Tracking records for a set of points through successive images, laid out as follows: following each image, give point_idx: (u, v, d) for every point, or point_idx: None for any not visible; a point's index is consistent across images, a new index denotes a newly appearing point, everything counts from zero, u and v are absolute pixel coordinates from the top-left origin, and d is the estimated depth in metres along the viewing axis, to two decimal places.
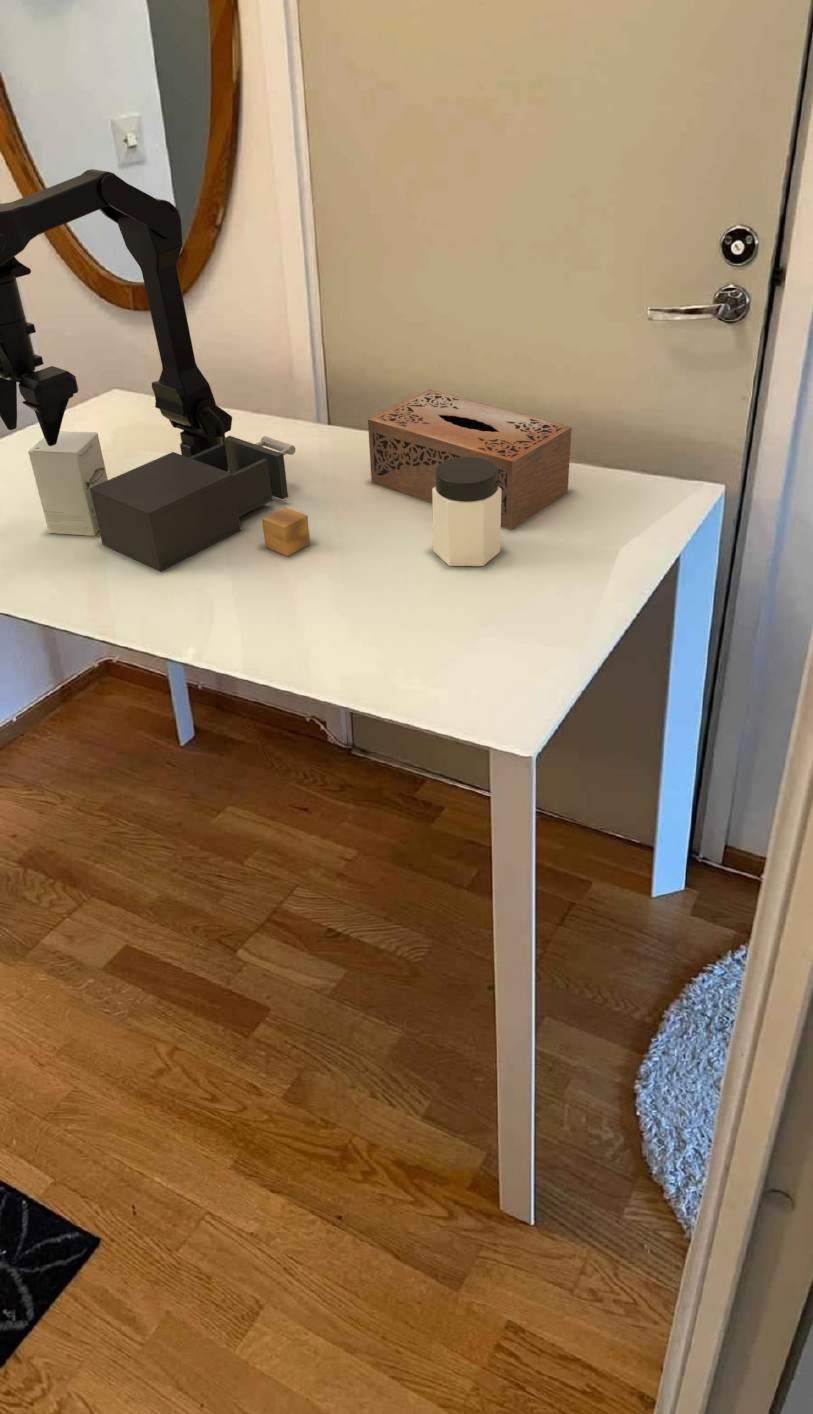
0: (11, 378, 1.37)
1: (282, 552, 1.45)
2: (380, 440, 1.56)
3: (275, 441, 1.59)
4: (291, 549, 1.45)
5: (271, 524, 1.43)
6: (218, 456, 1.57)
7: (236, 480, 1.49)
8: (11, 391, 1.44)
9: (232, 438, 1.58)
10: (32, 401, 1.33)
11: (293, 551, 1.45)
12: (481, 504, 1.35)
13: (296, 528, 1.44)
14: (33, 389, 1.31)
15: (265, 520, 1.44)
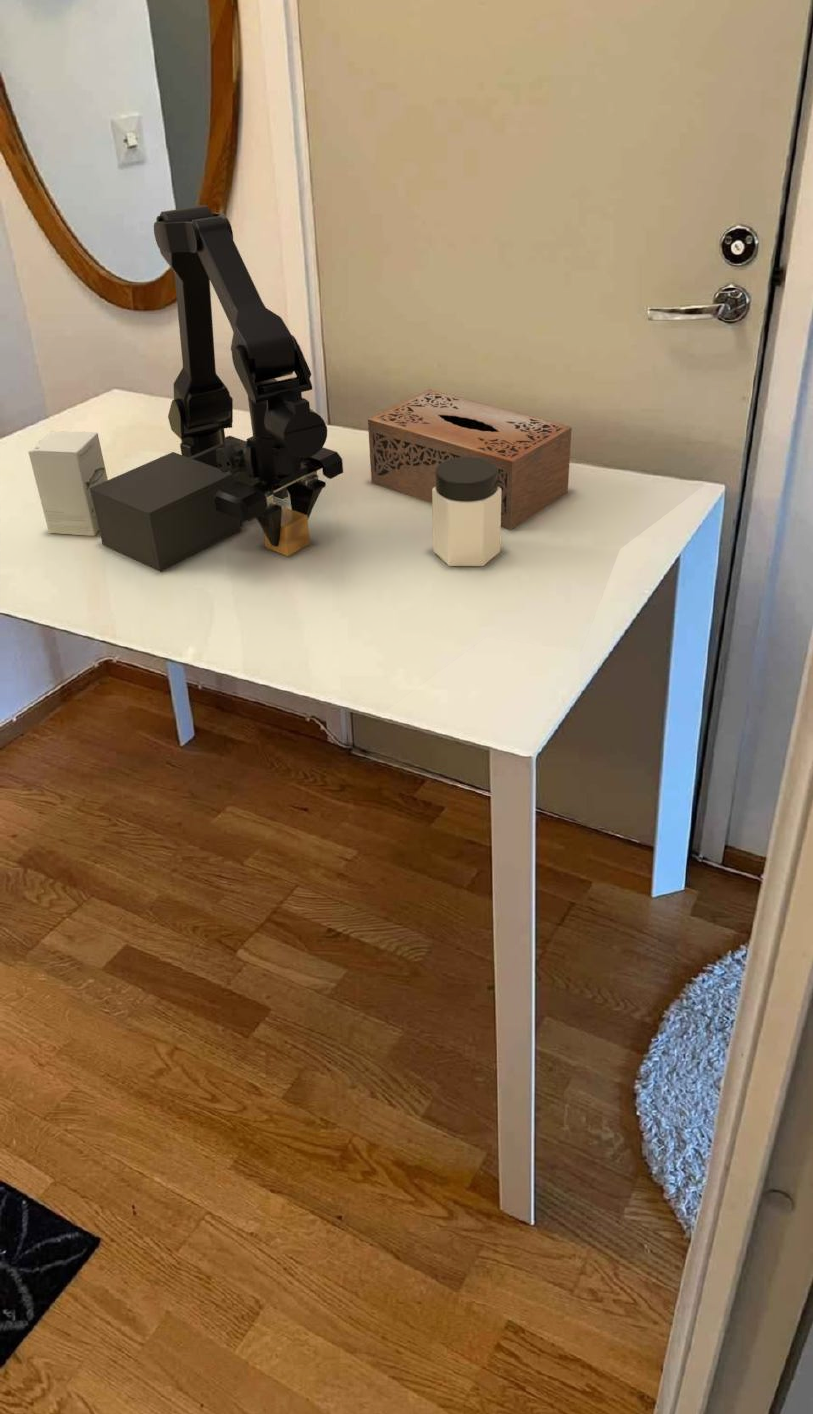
0: None
1: (282, 552, 1.45)
2: (380, 440, 1.56)
3: None
4: (291, 549, 1.45)
5: None
6: None
7: (236, 480, 1.49)
8: (304, 502, 1.44)
9: (232, 438, 1.58)
10: None
11: (293, 551, 1.45)
12: (481, 505, 1.35)
13: (296, 528, 1.44)
14: None
15: None
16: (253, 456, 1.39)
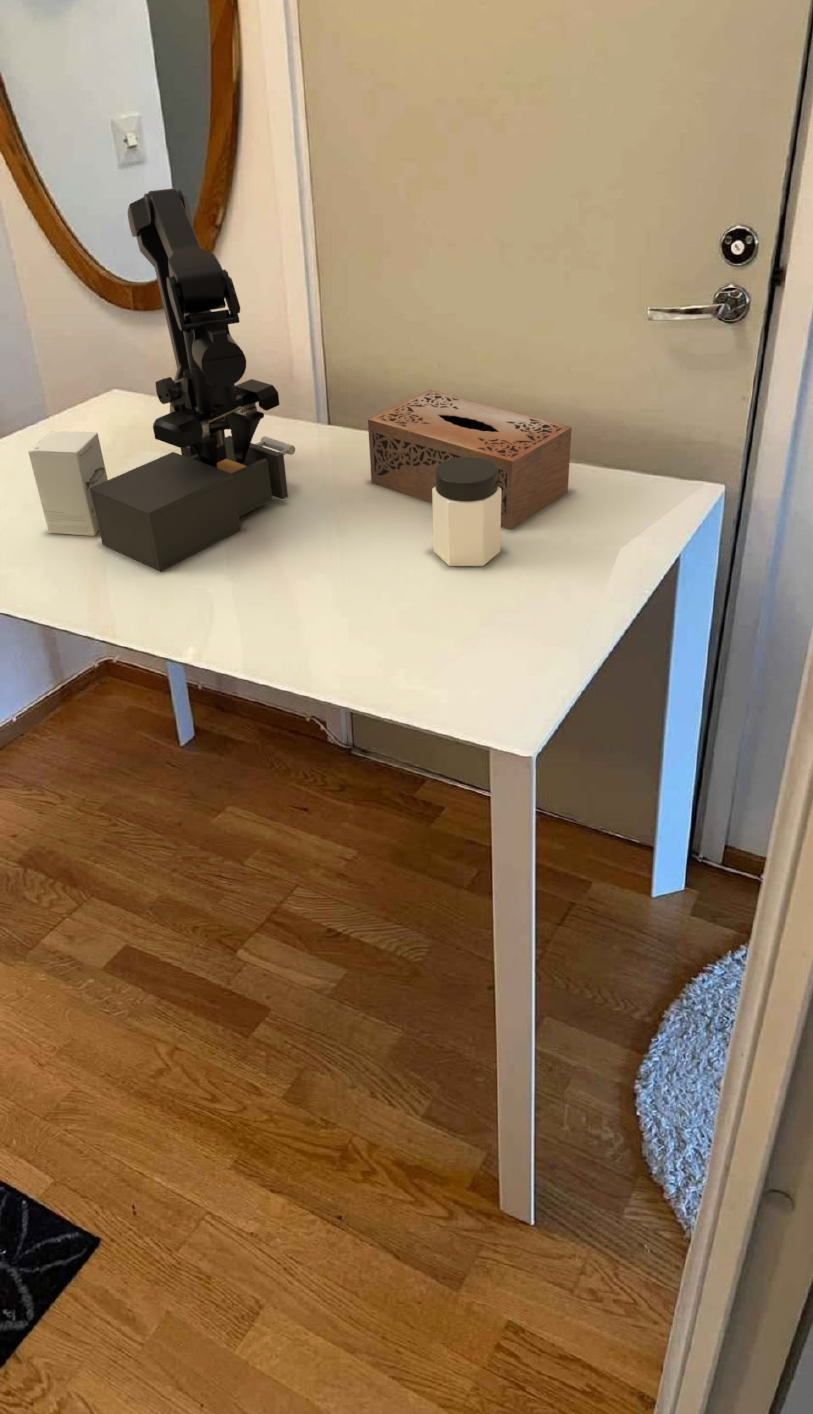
0: None
1: None
2: (380, 440, 1.56)
3: (275, 441, 1.59)
4: None
5: None
6: (218, 456, 1.57)
7: (236, 480, 1.49)
8: (243, 433, 1.51)
9: None
10: None
11: None
12: (481, 504, 1.35)
13: None
14: None
15: None
16: (190, 387, 1.46)
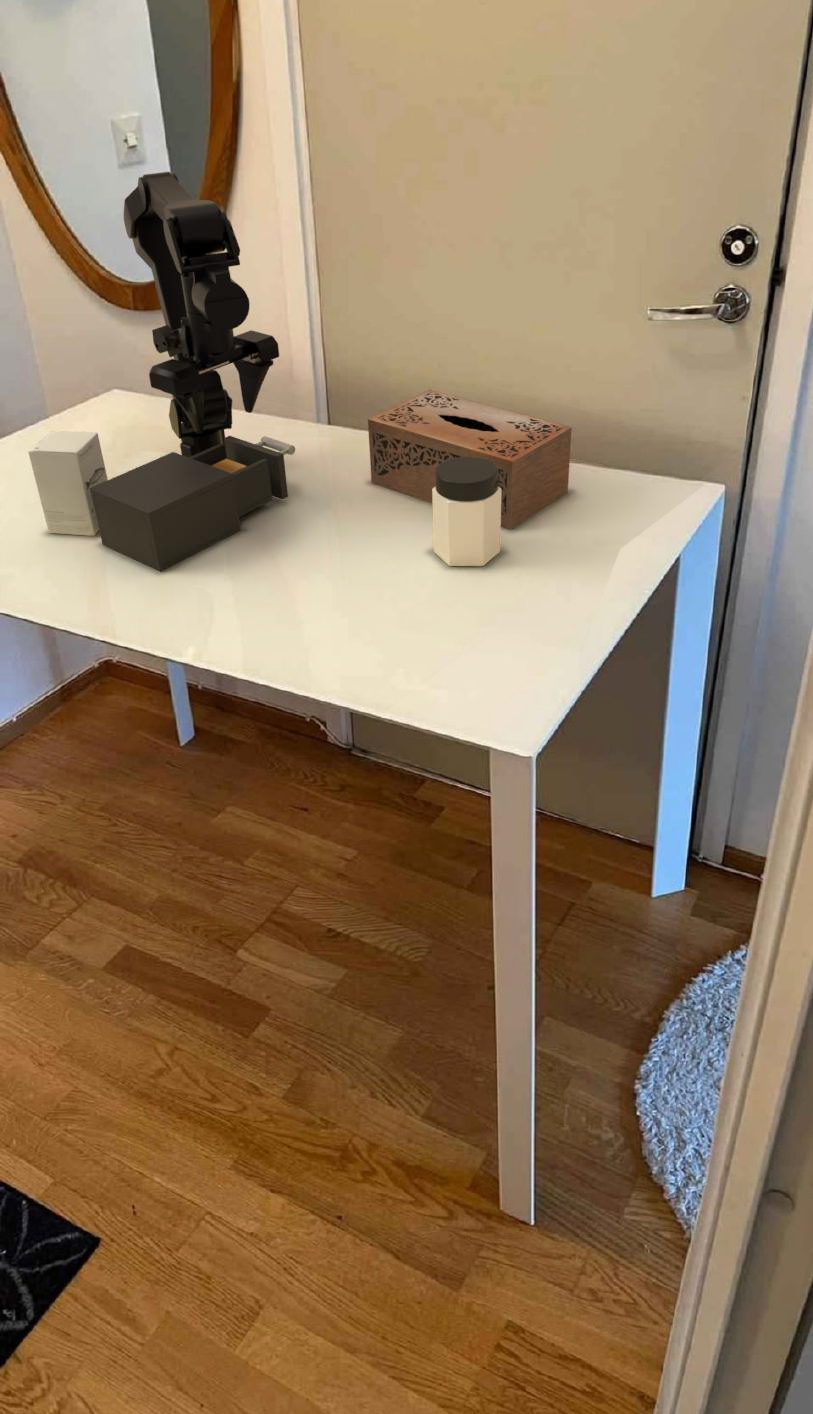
0: None
1: None
2: (380, 440, 1.56)
3: (275, 441, 1.59)
4: None
5: None
6: (218, 456, 1.57)
7: (236, 480, 1.49)
8: (252, 380, 1.49)
9: (232, 438, 1.58)
10: None
11: None
12: (481, 504, 1.35)
13: None
14: None
15: None
16: (188, 335, 1.42)
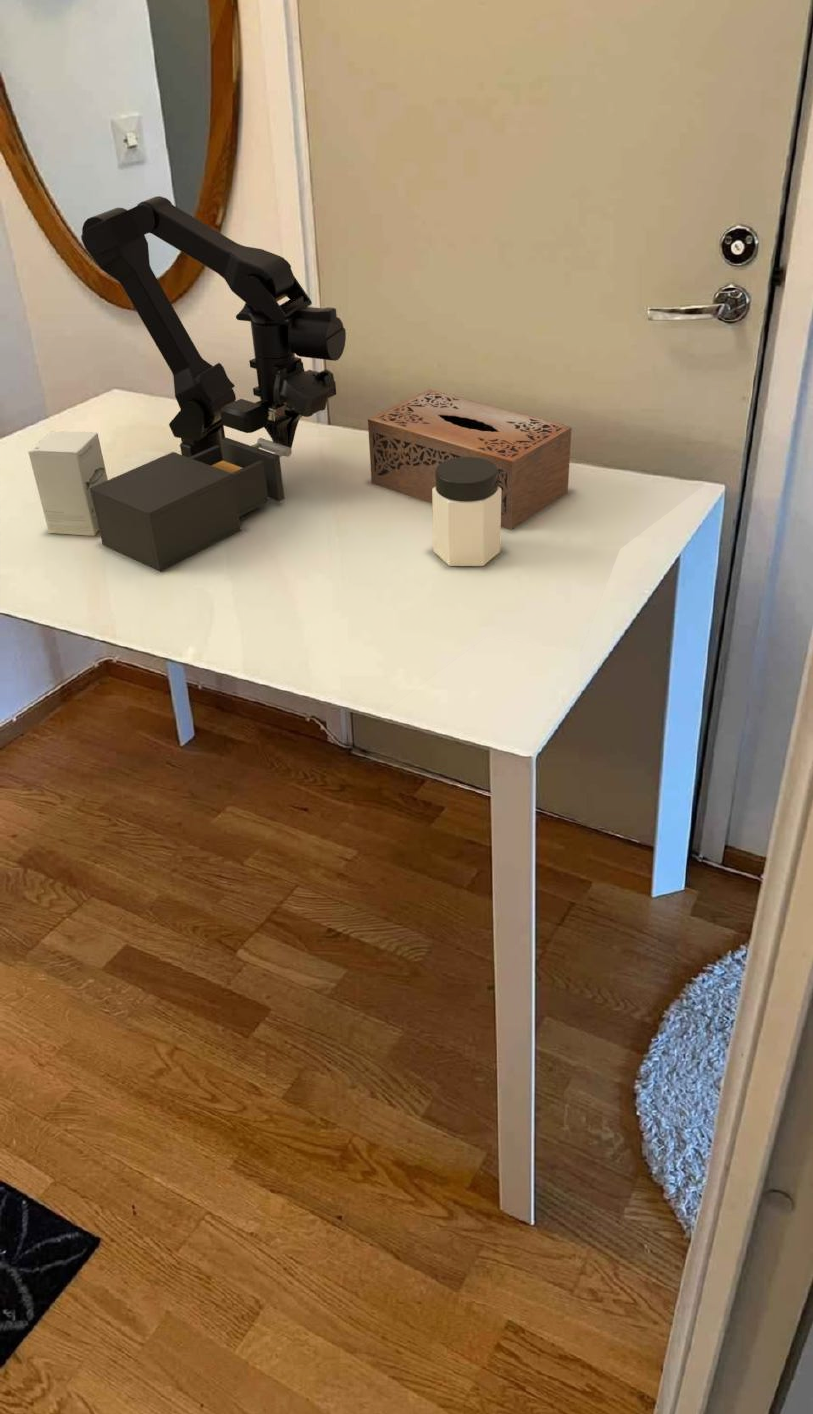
0: None
1: None
2: (380, 440, 1.56)
3: (271, 443, 1.59)
4: None
5: None
6: (214, 458, 1.56)
7: None
8: None
9: (228, 440, 1.58)
10: None
11: None
12: (481, 504, 1.35)
13: None
14: None
15: None
16: None
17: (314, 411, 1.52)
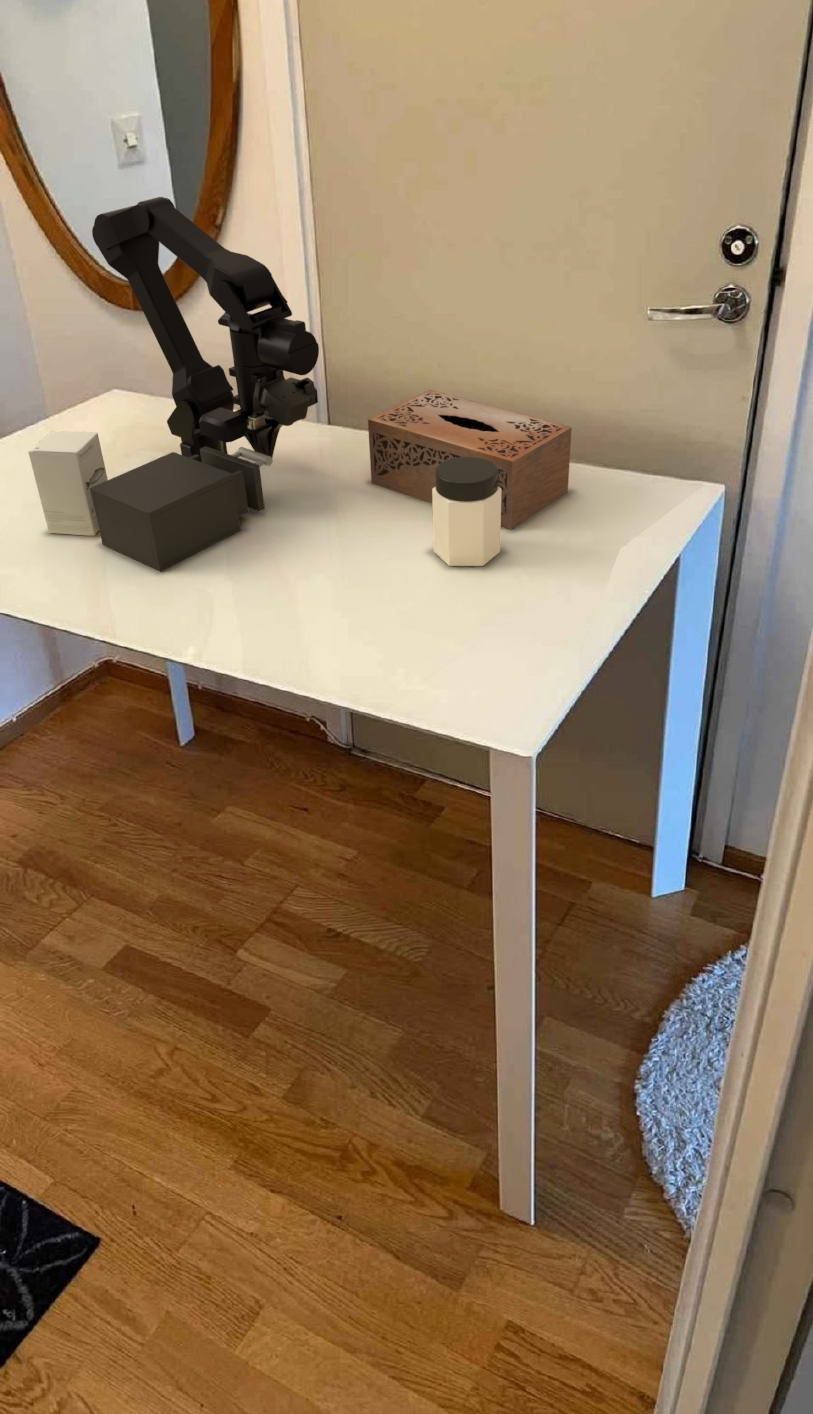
0: None
1: None
2: (380, 440, 1.56)
3: (252, 452, 1.56)
4: None
5: None
6: None
7: None
8: None
9: (208, 449, 1.55)
10: None
11: None
12: (481, 504, 1.35)
13: None
14: (314, 390, 1.57)
15: None
16: None
17: (294, 420, 1.49)
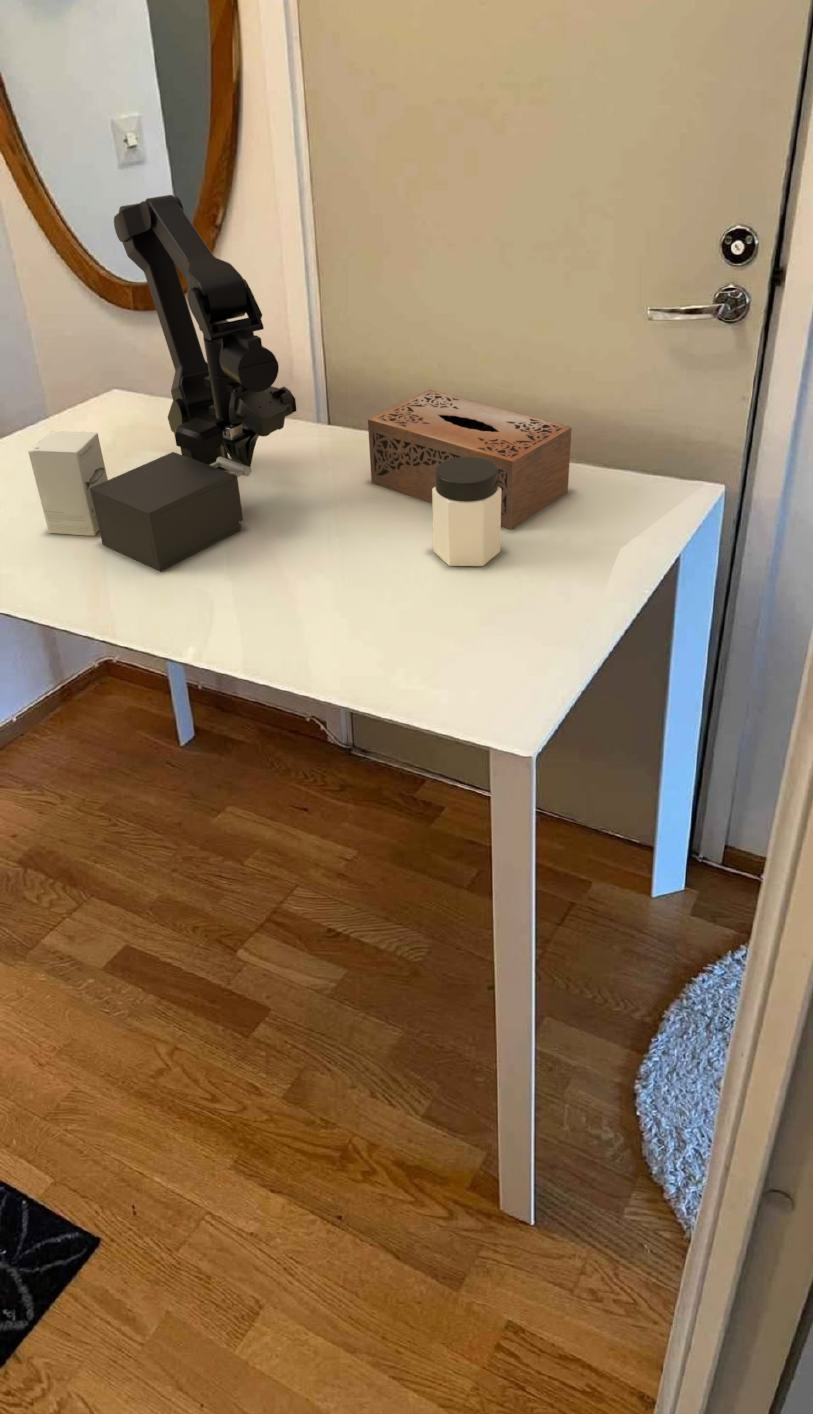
0: None
1: None
2: (380, 440, 1.56)
3: (230, 462, 1.54)
4: None
5: None
6: None
7: None
8: None
9: None
10: None
11: None
12: (481, 505, 1.35)
13: None
14: (293, 398, 1.54)
15: None
16: None
17: (271, 430, 1.47)
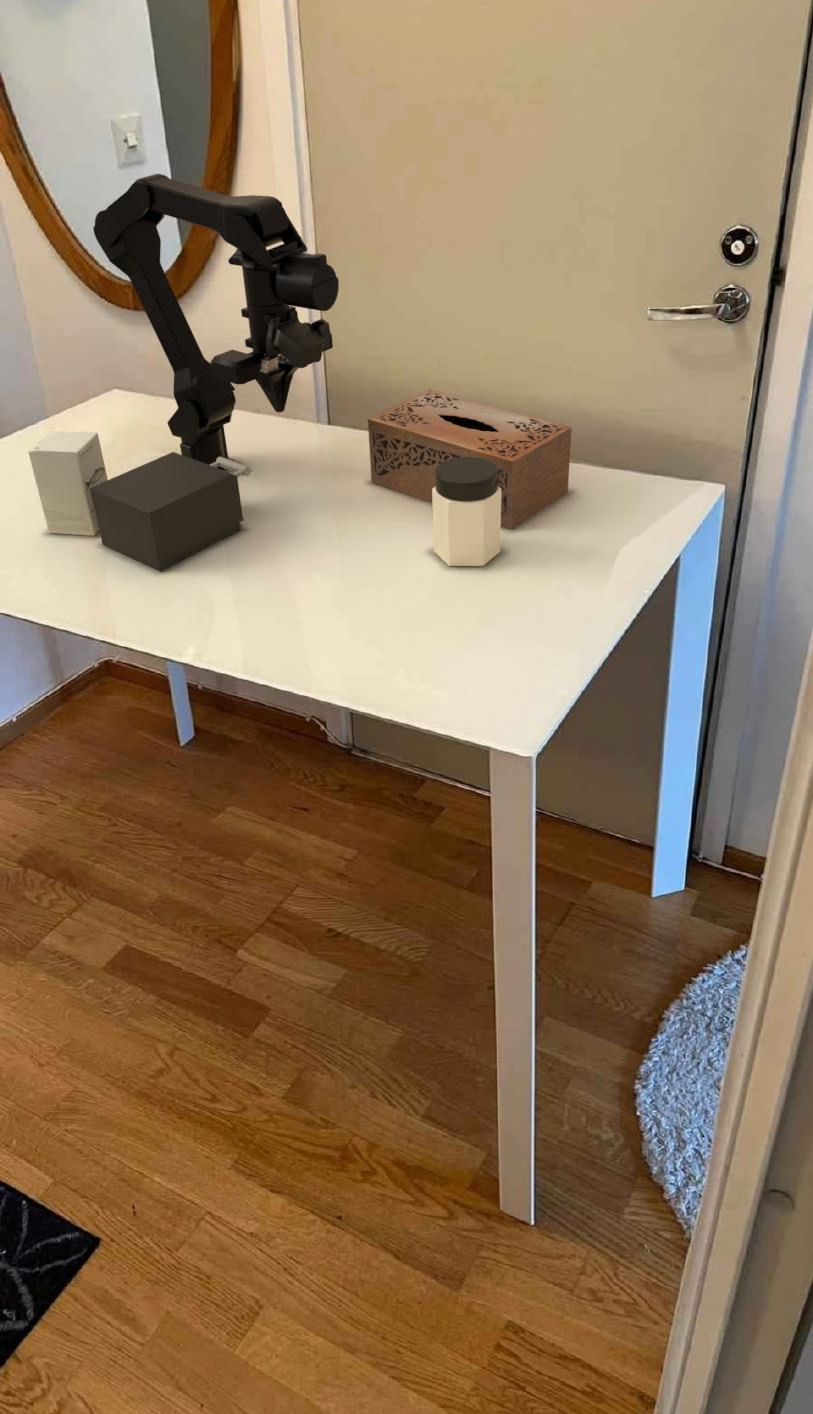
0: None
1: None
2: (380, 440, 1.56)
3: (230, 462, 1.54)
4: None
5: None
6: None
7: None
8: None
9: None
10: (328, 347, 1.53)
11: None
12: (481, 505, 1.35)
13: None
14: None
15: None
16: None
17: (309, 362, 1.45)
